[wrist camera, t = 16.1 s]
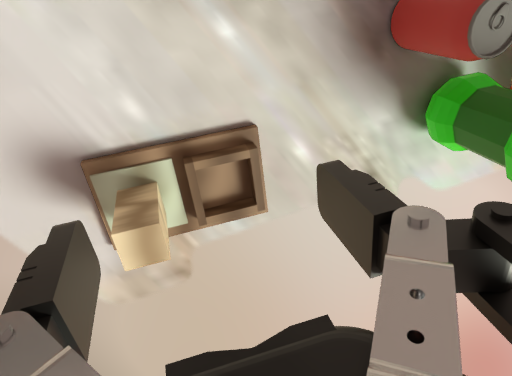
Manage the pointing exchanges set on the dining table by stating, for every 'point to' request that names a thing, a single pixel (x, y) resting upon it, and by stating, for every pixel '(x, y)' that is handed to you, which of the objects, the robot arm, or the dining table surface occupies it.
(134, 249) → the maple block
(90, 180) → the puzzle board
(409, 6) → the beer can
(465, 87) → the plastic bottle
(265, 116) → the dining table surface
